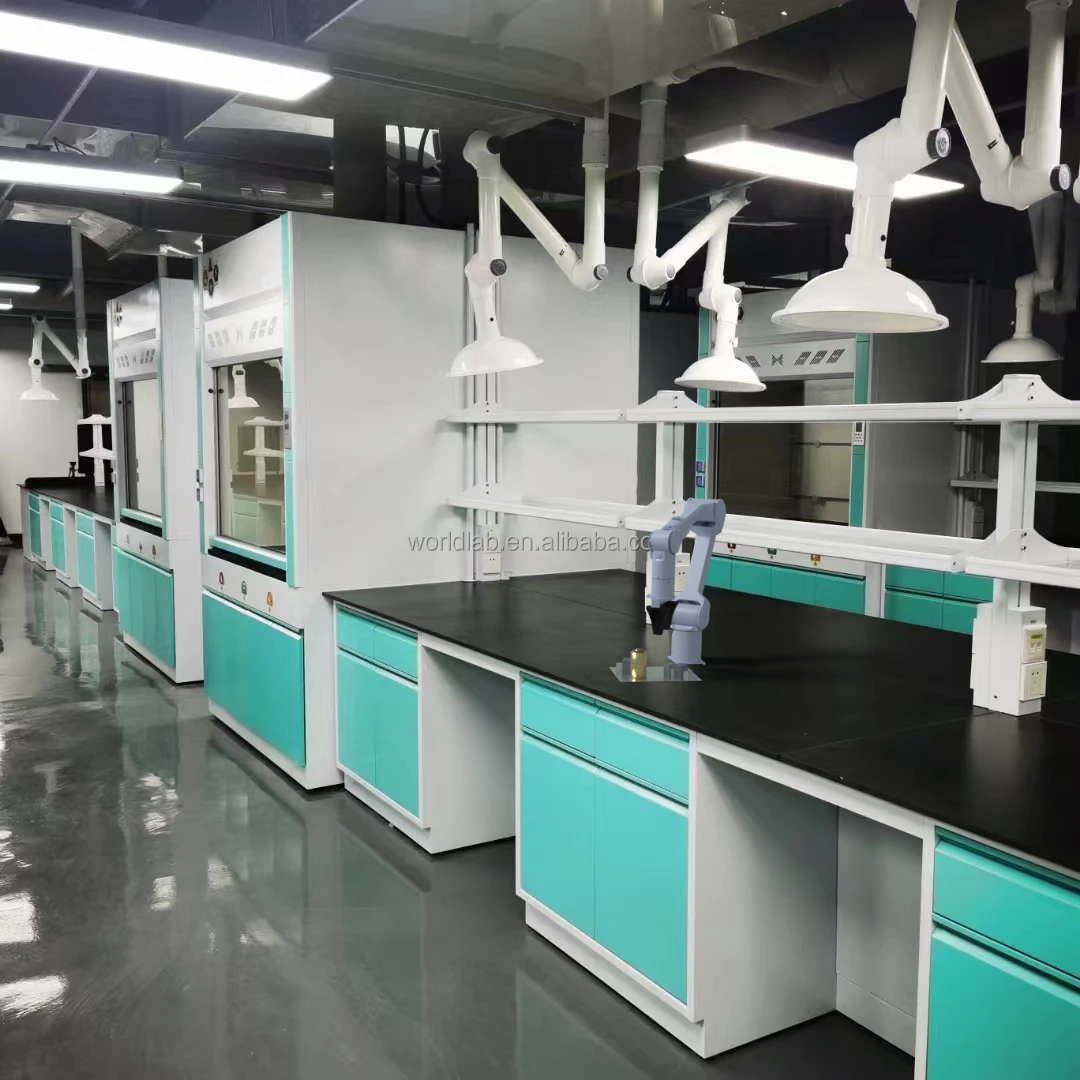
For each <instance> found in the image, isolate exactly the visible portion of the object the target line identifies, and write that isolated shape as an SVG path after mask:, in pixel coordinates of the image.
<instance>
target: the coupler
mask: <svg viewBox="0 0 1080 1080" xmlns="http://www.w3.org/2000/svg"><path fill="white" fill-rule="evenodd" d="M630 658H631V659H630V679H633V680H645V679H647V667H648V651H646V650H645V649H644V648H638V647H637V648H636V647H635V648H634V649H632V650H630Z"/></svg>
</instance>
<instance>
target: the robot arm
mask: <svg viewBox="0 0 1080 1080" xmlns="http://www.w3.org/2000/svg"><path fill="white" fill-rule="evenodd" d="M683 509H684V510H683V511H682V513H681V514H680V515H673V516H672V517H671V519H669V521H667V523H666V524H665V525H663V526H662V527H661V528H660V529H657V528H656V529H655V530H654V529H653V531H651V532H650V534H649V538H648V542H647V544H648V550H649V557H650V559H651V560H652V561H651V587H650V588H651V589H650V591H651V592H650V594H649V593H648V594H646V595H645V596H646V598H647V599H648V598H649V599H651V602H650V604H651V605H650V604H649V605H645V609H646V612H647V614H648V616H649V620H650V624H651V630H652V634H653V635H654V636H655V635H656V636H662V635H663V633H664V631H669V630H670V629H673V632H672V634H671V649H670V650H671V654H670V655H667V658H668V659H669V660H671V662H673V663H675V665H676V664H678V663H687V664H688V665H695V664H696V665H700V664H702V665H703V666H705V665H707V664H706V662H705V661H703V660H702V640H703V639H702V635H703V630H705V629H706V628H707V626H708V625H709V621H710V609H711V603H710V601H709V600H708V598H707V597H705V595H703V594H704V589H705V584H706V580H707V577H708V572H709V568H710V563H711V559H712V555H713V551H714V547H715V543H716V538H717V536H718V535H720V534H722V533H723V529H724V525H725V520H726V517H727V507H726V503H725V502H724V500H723V499H722V498H718V499H715V498H714V499H713V498H694V497H689V498H687V500H685V503H684V507H683ZM690 531H691V532H692V533H694V534H695V535H696V538H695V543H694V547H693V551H692V555H691V559H690V562H689V567H688V570H687V575H686V580H685V584H684V587H683V590H681V591H680V592H678V593H676V594H675V592H676V591H675V587H676V586H675V585H676V559H677V558H676V557H677V556H676V554H677V553H679V550H680V548H681V544H683V543H682V542H683V540H684V539H685V538H686V537H687V536H688V535H689V533H690Z"/></svg>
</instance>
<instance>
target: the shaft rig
mask: <svg viewBox="0 0 1080 1080" xmlns="http://www.w3.org/2000/svg"><path fill="white" fill-rule="evenodd" d="M630 659H631V657H623V658H622V661H621V662H616V663H615V665H616V666H609V667H608V668H609V669H610V670H611V671H612V673H613V674H614V676H615V677H616V678H617V679H618V681H619V682H620V683H622V682H625V683H626V682H628V683H629V682H686V681H687V682H689V681H690V682H695V681H696V682H699V681H700V682H701V681H703V680H702V679H701V678H700V677H699V676H698V675H697V674H695V672H693V669H690V668H689V664H687V663H678V664H675V663H674V662H673V661H670V662H667V663H664V664H663V666H647V679H645V680H633V679H630Z"/></svg>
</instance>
